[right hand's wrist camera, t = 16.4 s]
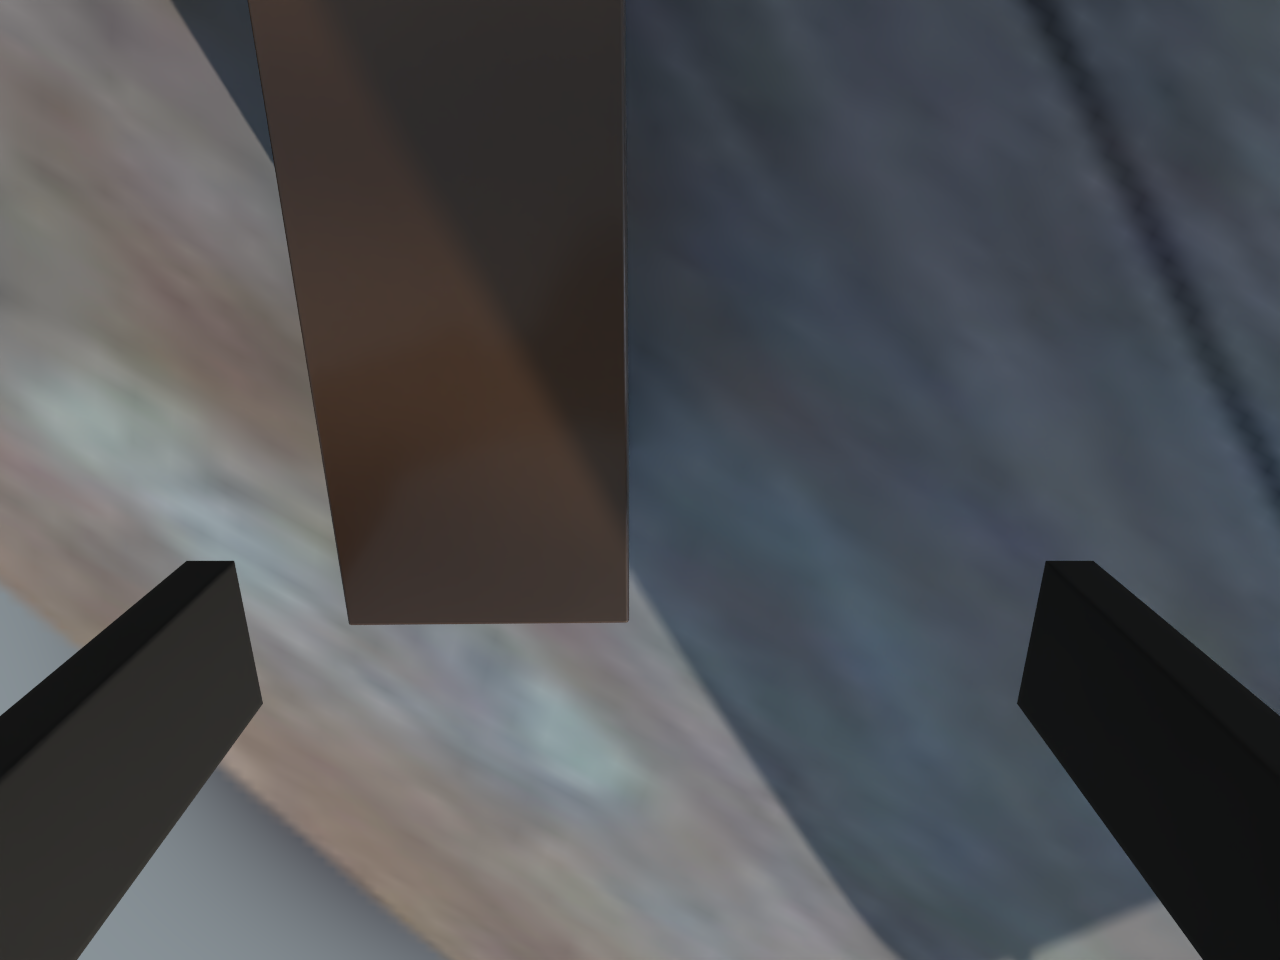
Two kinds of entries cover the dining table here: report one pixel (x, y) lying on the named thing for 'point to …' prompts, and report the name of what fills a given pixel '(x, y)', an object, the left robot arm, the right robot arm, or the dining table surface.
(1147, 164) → the dining table surface
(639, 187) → the dining table surface
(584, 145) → the walnut beam
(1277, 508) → the dining table surface
